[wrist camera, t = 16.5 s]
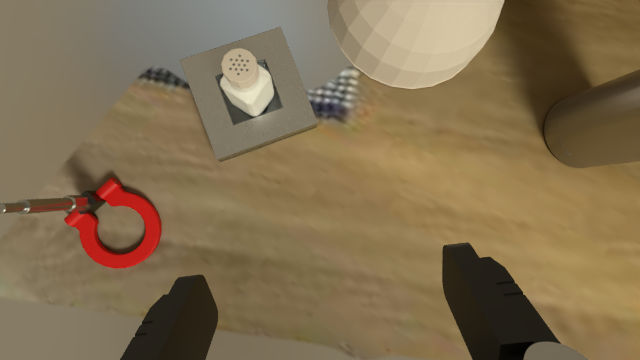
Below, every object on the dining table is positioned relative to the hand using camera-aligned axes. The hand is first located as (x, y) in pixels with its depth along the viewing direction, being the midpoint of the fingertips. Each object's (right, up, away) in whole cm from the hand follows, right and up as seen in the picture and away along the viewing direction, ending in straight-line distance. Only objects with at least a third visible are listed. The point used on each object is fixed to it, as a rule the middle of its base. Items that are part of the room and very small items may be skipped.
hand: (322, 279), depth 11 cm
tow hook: (-23, -2, +27) cm, 35 cm away
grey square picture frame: (-8, +13, +28) cm, 32 cm away
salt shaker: (-8, +13, +28) cm, 32 cm away
